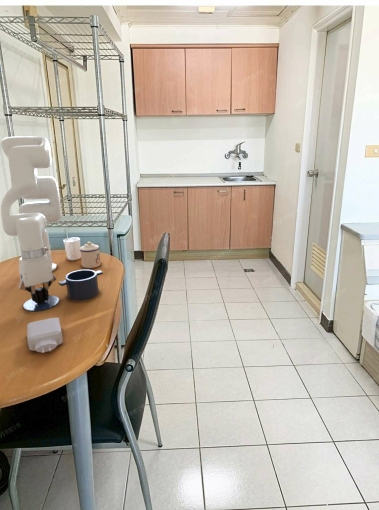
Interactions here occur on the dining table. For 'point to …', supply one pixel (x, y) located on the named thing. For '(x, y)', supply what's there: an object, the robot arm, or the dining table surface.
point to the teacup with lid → (90, 255)
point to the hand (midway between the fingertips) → (41, 300)
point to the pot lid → (41, 302)
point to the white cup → (72, 248)
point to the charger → (44, 335)
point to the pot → (81, 284)
